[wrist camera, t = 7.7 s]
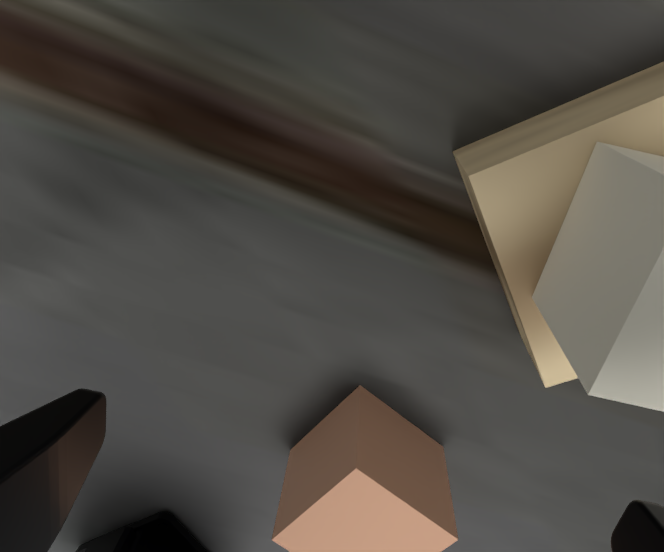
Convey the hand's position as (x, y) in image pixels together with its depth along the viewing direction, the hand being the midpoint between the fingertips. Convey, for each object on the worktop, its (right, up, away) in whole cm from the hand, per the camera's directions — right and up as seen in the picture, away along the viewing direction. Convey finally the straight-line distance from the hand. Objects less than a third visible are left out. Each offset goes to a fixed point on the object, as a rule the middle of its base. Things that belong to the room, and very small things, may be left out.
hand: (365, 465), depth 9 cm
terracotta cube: (+1, -5, +16) cm, 16 cm away
